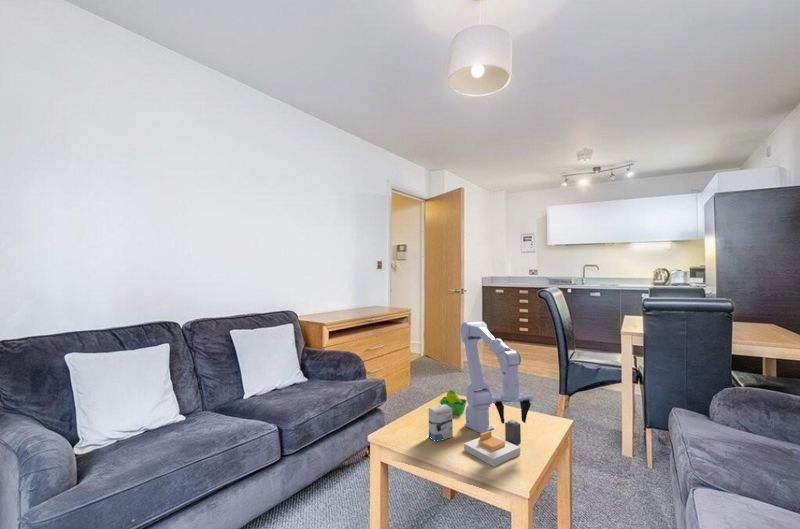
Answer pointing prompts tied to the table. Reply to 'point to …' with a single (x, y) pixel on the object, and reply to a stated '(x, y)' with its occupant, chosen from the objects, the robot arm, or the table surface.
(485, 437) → the tan slab
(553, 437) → the table surface
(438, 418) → the ink box
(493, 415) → the table surface
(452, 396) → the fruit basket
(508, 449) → the socket
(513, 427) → the plug
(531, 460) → the table surface
